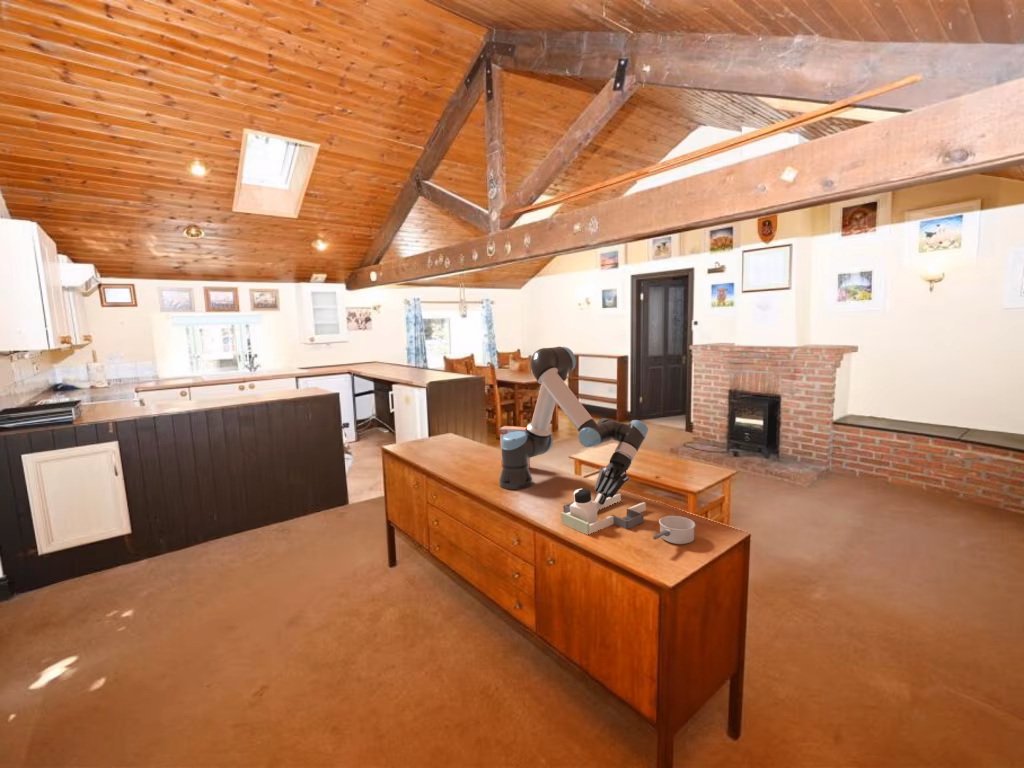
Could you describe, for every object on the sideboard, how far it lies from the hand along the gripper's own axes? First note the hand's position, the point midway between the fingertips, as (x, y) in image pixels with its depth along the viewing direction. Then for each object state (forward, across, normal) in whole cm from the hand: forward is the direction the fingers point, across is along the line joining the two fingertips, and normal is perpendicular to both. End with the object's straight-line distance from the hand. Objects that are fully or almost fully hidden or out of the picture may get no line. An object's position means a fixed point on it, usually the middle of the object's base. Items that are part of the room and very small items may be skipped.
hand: (593, 510), depth 167 cm
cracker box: (-11, +71, -17) cm, 74 cm away
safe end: (+10, 0, +4) cm, 10 cm away
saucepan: (-1, -28, -7) cm, 29 cm away
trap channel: (-2, 0, -8) cm, 8 cm away
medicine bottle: (+5, +1, 0) cm, 5 cm away
